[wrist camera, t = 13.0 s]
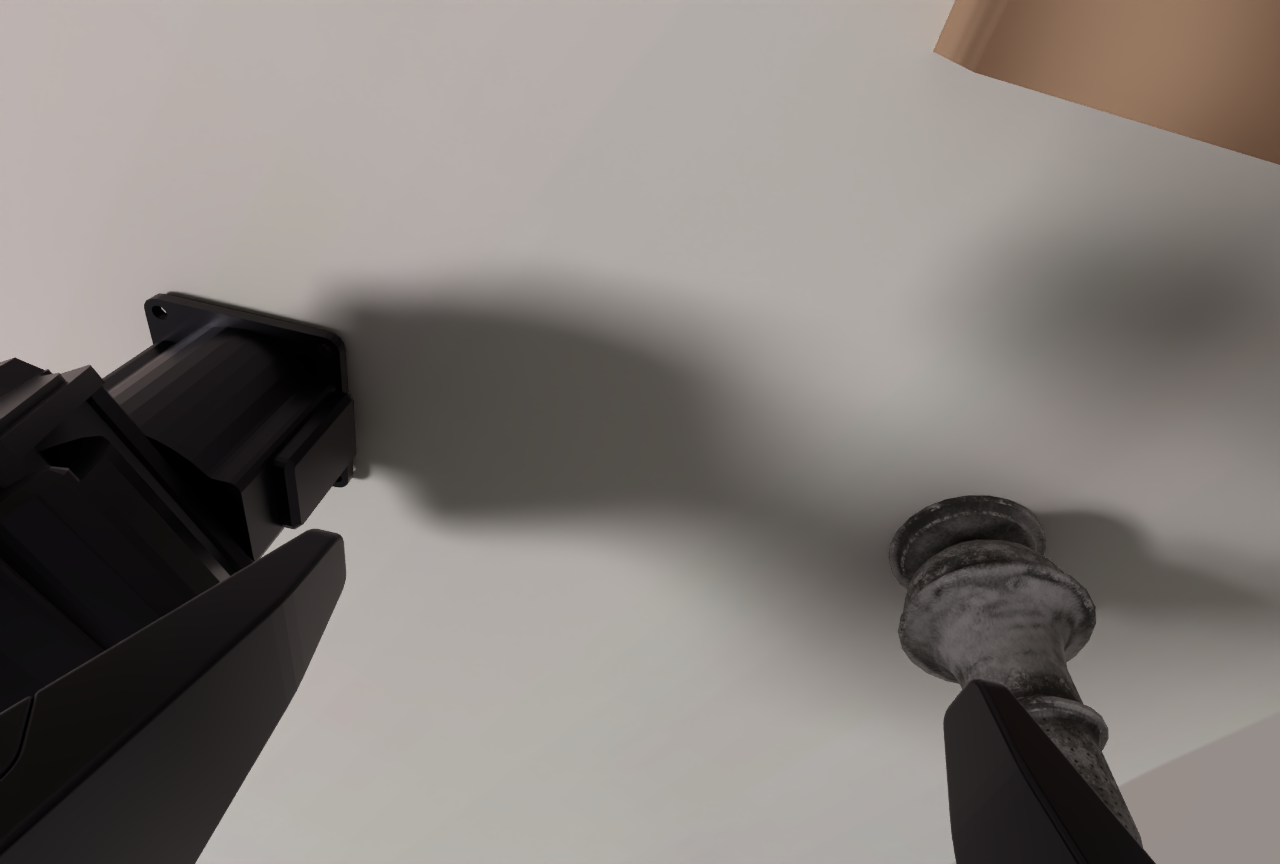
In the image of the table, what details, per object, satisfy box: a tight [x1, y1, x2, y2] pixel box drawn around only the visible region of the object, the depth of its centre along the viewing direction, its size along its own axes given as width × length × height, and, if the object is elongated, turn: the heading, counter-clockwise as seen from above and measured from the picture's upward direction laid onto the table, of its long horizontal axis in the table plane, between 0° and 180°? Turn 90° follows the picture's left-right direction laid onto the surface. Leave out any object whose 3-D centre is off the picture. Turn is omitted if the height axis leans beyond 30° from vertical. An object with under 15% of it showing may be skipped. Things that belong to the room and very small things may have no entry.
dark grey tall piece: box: [889, 496, 1143, 848], centre depth 20 cm, size 6×6×12 cm
